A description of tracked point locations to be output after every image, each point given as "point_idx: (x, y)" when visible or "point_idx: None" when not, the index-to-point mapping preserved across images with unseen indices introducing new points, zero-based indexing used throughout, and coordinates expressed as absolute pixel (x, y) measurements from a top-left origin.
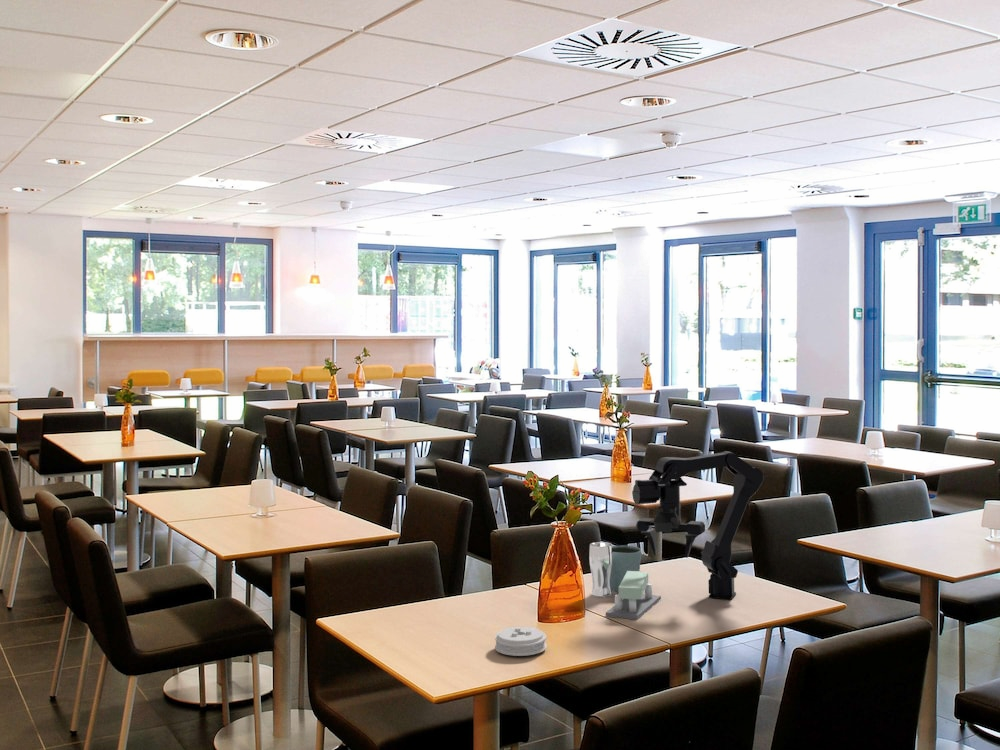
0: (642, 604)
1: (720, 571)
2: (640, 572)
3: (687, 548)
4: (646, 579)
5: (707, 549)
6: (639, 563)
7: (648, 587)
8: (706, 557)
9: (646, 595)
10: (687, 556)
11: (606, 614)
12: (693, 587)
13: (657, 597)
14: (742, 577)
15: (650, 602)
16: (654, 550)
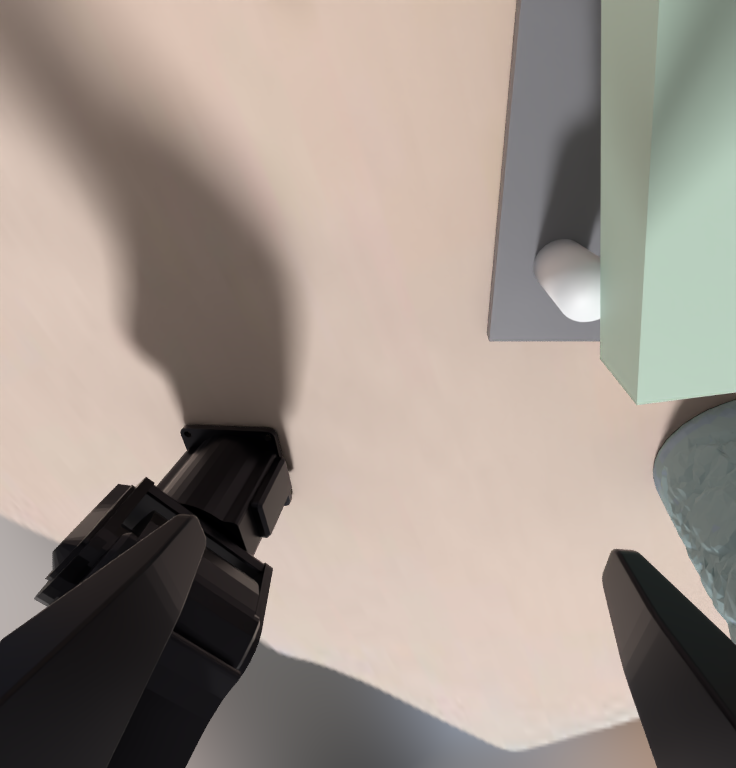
0: (582, 59)
1: (114, 506)
2: (727, 355)
3: (58, 620)
4: (625, 242)
5: (153, 698)
6: (733, 598)
7: (579, 259)
8: (182, 620)
9: (579, 245)
10: (168, 525)
11: None
12: (393, 535)
13: (501, 300)
14: (289, 638)
15: (525, 156)
16: (668, 613)
